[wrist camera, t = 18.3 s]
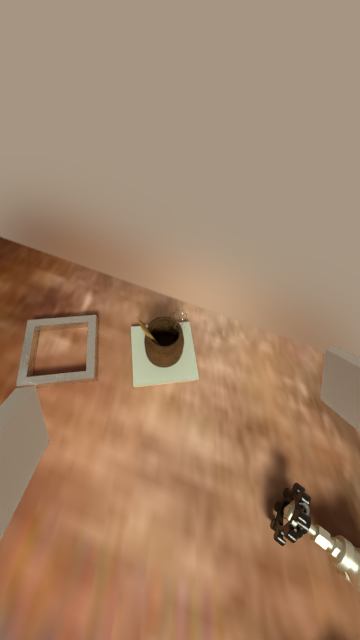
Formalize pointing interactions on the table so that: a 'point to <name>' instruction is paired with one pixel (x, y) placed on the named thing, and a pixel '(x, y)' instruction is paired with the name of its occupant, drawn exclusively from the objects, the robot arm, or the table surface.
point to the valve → (314, 534)
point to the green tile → (155, 375)
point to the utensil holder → (163, 341)
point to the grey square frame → (89, 375)
